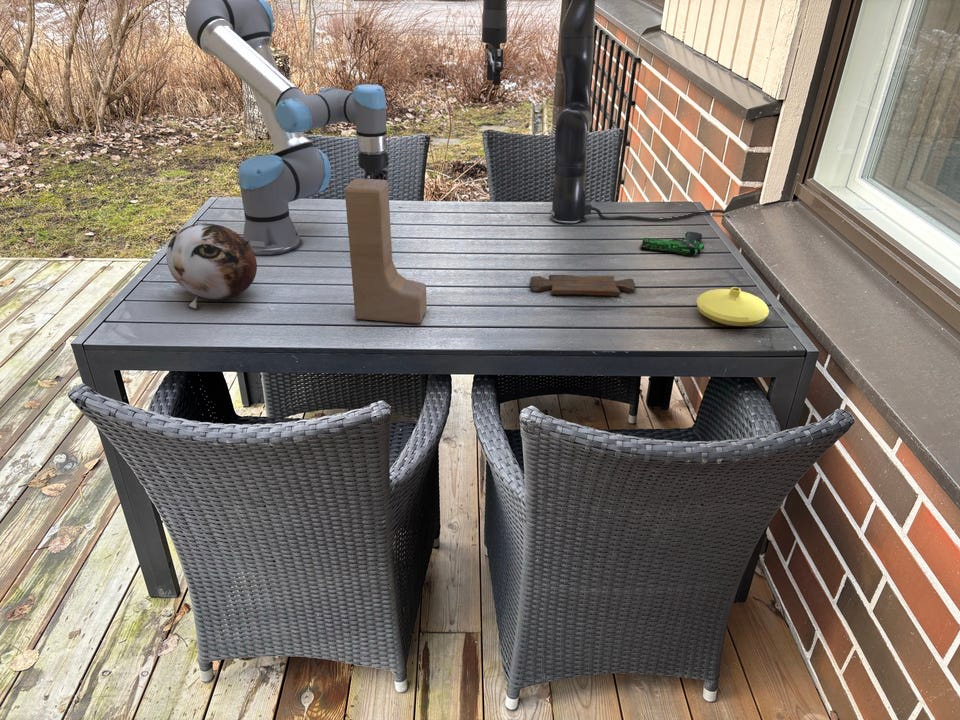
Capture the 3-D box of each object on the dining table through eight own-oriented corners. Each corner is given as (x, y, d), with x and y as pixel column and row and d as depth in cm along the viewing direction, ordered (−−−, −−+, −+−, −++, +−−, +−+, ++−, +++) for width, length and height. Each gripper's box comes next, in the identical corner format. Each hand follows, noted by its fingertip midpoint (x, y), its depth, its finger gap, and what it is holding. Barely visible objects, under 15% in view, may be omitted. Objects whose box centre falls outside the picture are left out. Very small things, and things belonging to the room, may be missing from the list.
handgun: (708, 232, 202) (701, 248, 190) (707, 242, 204) (700, 259, 192) (651, 225, 208) (641, 240, 196) (650, 234, 209) (639, 251, 197)
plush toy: (130, 285, 161) (164, 203, 163) (192, 308, 177) (221, 233, 178) (195, 307, 151) (229, 220, 152) (254, 330, 166) (285, 250, 168)
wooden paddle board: (638, 298, 171) (631, 281, 180) (639, 292, 170) (632, 275, 179) (530, 294, 172) (529, 277, 180) (531, 288, 171) (529, 271, 179)
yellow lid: (708, 296, 172) (714, 269, 169) (775, 314, 165) (782, 286, 161) (683, 320, 161) (688, 292, 158) (753, 340, 154) (760, 311, 150)
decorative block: (420, 325, 158) (416, 192, 142) (354, 319, 159) (343, 187, 144) (427, 309, 164) (423, 181, 149) (363, 305, 166) (354, 177, 150)
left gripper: (374, 161, 171) (379, 252, 183) (398, 143, 186) (401, 229, 198) (345, 158, 172) (352, 249, 184) (371, 141, 187) (376, 226, 199)
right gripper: (477, 22, 219) (476, 78, 227) (487, 28, 207) (486, 87, 216) (501, 22, 221) (499, 78, 229) (512, 27, 209) (510, 86, 217)
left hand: (377, 238), depth 191 cm, fingers closed on can, 4 cm apart
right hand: (493, 82), depth 222 cm, fingers open, 8 cm apart
